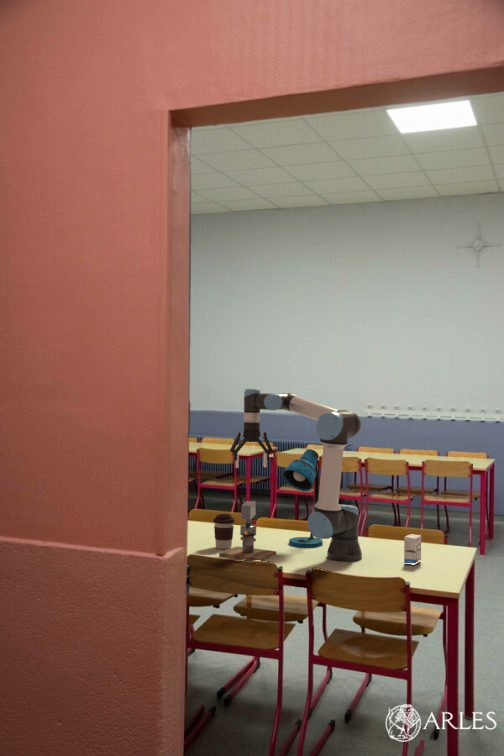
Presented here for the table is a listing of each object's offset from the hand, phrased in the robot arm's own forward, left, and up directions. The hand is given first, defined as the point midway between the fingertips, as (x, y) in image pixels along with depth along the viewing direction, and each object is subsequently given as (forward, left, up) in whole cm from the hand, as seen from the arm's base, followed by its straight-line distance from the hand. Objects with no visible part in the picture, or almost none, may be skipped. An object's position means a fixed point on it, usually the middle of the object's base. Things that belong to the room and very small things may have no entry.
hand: (251, 467), depth 347 cm
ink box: (-75, -7, -37) cm, 84 cm away
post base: (-8, +17, -37) cm, 41 cm away
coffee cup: (+9, +9, -37) cm, 39 cm away
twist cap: (-8, +17, -27) cm, 33 cm away
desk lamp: (-20, -16, -37) cm, 45 cm away
